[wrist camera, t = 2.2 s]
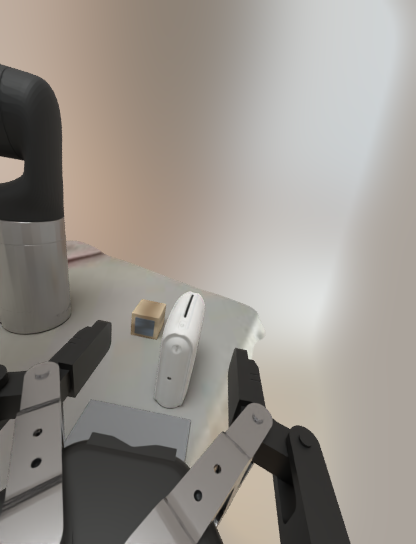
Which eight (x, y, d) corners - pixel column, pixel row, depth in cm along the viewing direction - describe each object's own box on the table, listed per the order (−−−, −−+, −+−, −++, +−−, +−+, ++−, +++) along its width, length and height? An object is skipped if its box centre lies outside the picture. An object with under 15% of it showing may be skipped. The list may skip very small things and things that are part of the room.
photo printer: (183, 413, 26) (200, 334, 22) (148, 405, 27) (159, 324, 22) (196, 352, 36) (210, 288, 31) (171, 347, 36) (181, 281, 31)
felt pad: (15, 524, 16) (14, 522, 16) (90, 401, 26) (90, 399, 25) (170, 555, 16) (170, 553, 16) (190, 421, 26) (190, 419, 26)
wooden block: (130, 335, 37) (131, 313, 35) (140, 319, 41) (141, 299, 39) (156, 340, 37) (158, 319, 35) (163, 324, 41) (166, 304, 39)
